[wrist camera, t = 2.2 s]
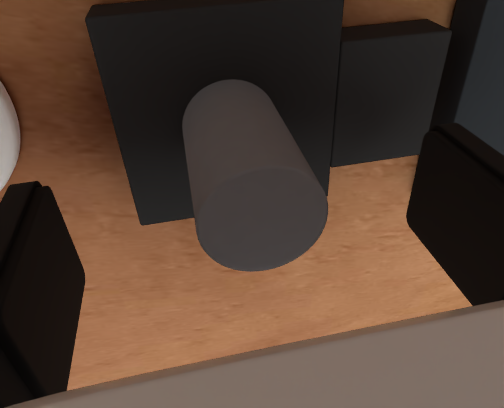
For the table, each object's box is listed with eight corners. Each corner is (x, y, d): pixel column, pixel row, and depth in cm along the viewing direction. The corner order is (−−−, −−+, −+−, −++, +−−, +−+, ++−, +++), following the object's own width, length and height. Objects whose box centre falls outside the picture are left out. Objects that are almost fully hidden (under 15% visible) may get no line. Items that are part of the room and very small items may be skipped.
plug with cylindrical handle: (141, 202, 16) (137, 347, 11) (90, 5, 12) (44, 91, 7) (398, 163, 17) (502, 276, 12) (436, -26, 13) (620, 26, 8)
